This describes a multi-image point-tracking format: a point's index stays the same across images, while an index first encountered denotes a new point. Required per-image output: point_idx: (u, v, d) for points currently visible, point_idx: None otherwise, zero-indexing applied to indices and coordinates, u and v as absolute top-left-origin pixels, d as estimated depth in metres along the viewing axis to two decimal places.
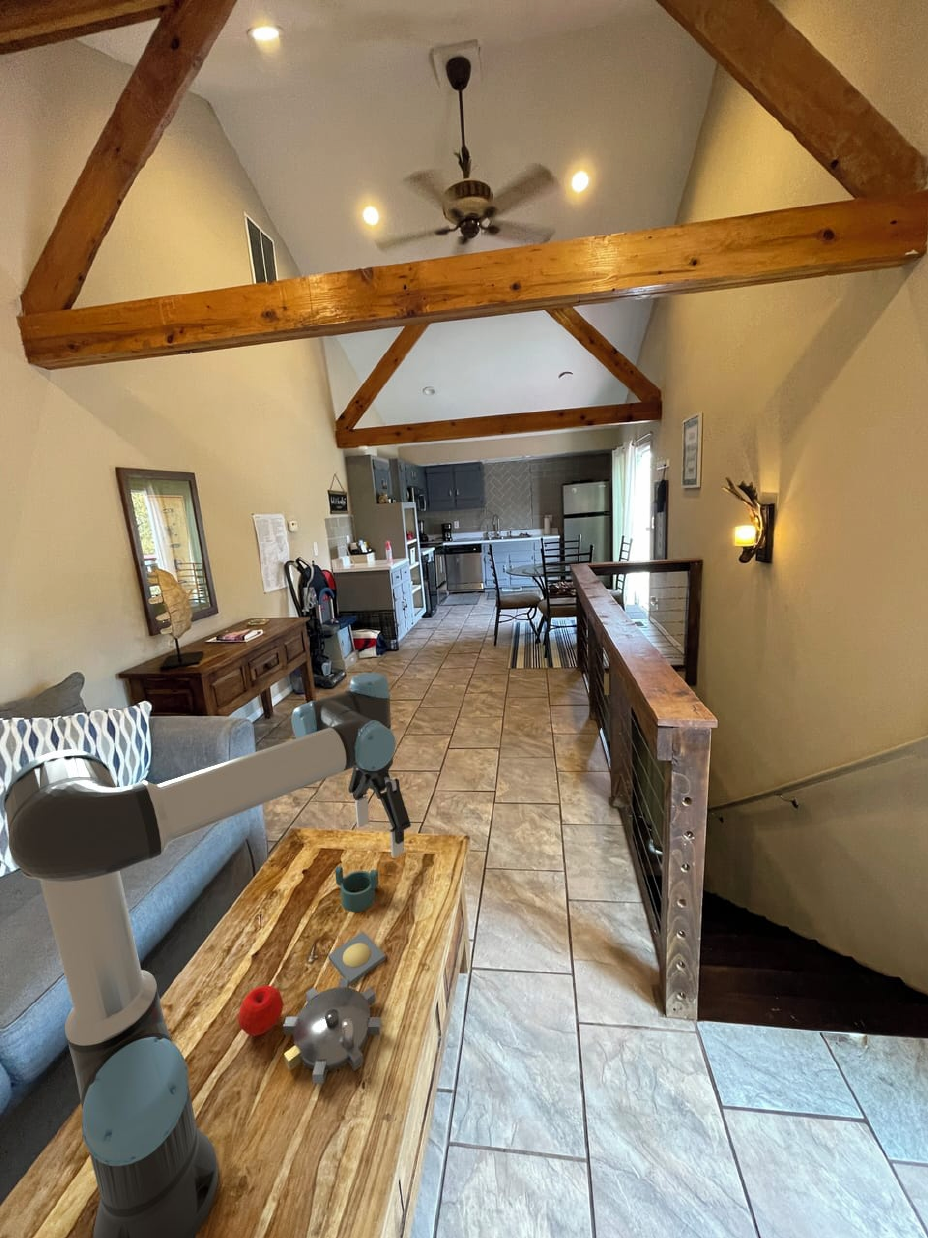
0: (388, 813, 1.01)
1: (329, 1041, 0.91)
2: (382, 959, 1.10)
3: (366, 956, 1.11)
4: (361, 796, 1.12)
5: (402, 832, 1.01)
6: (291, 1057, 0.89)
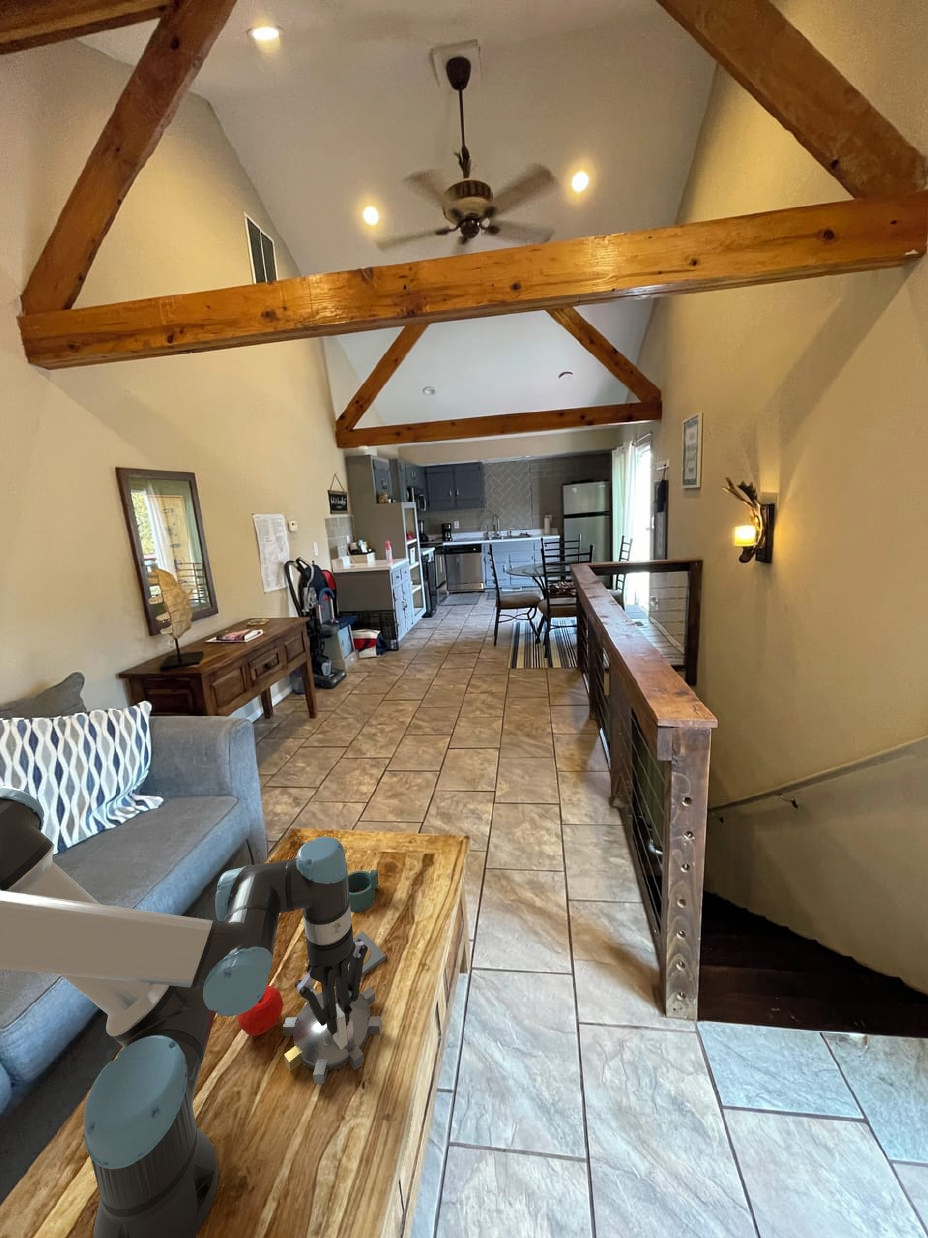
0: None
1: (329, 1041, 0.91)
2: (382, 959, 1.10)
3: (366, 956, 1.11)
4: (340, 1006, 0.88)
5: (329, 1024, 0.87)
6: (292, 1058, 0.89)
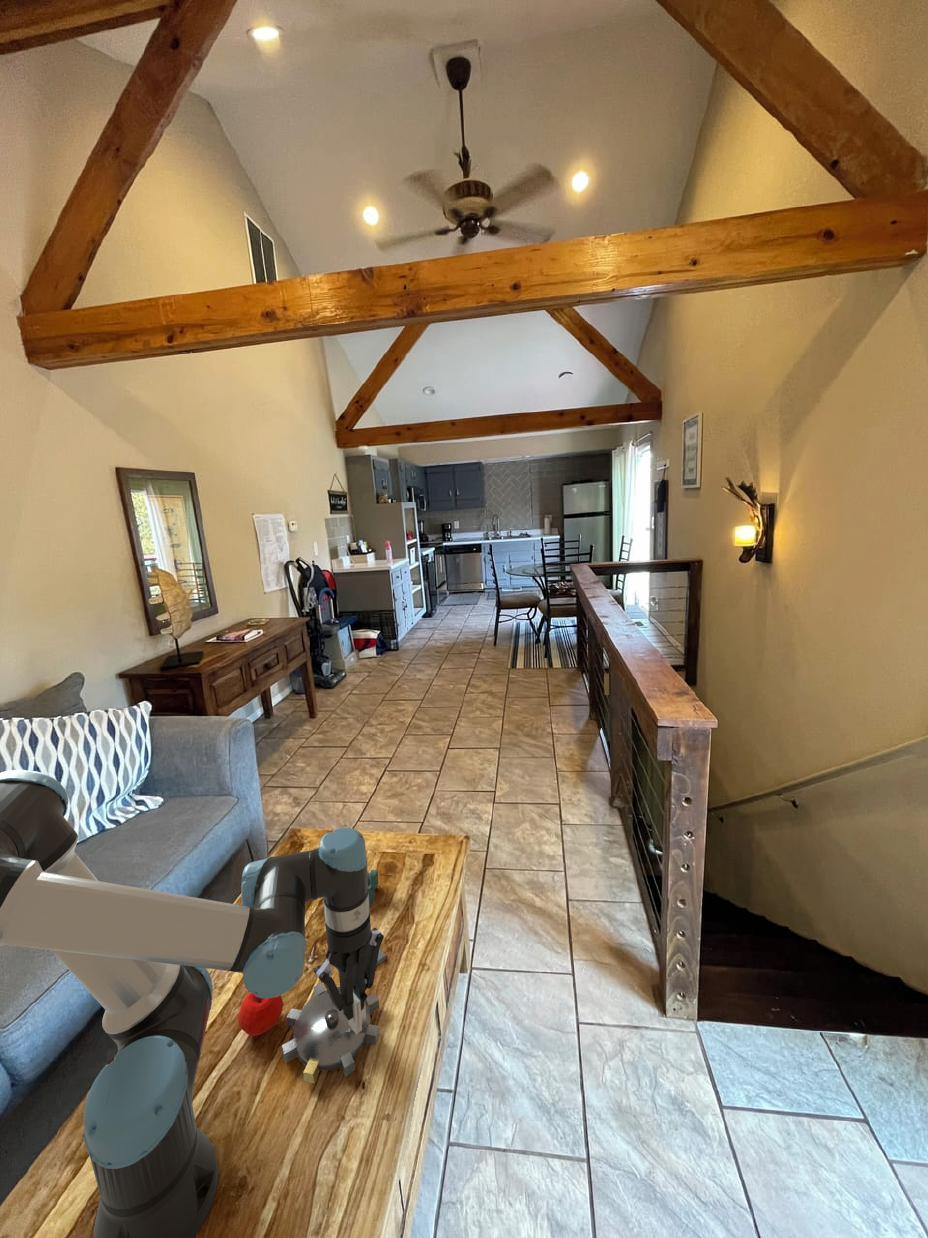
0: None
1: (341, 1036, 0.92)
2: (382, 959, 1.10)
3: None
4: (356, 993, 0.90)
5: (345, 1009, 0.89)
6: (313, 1070, 0.87)
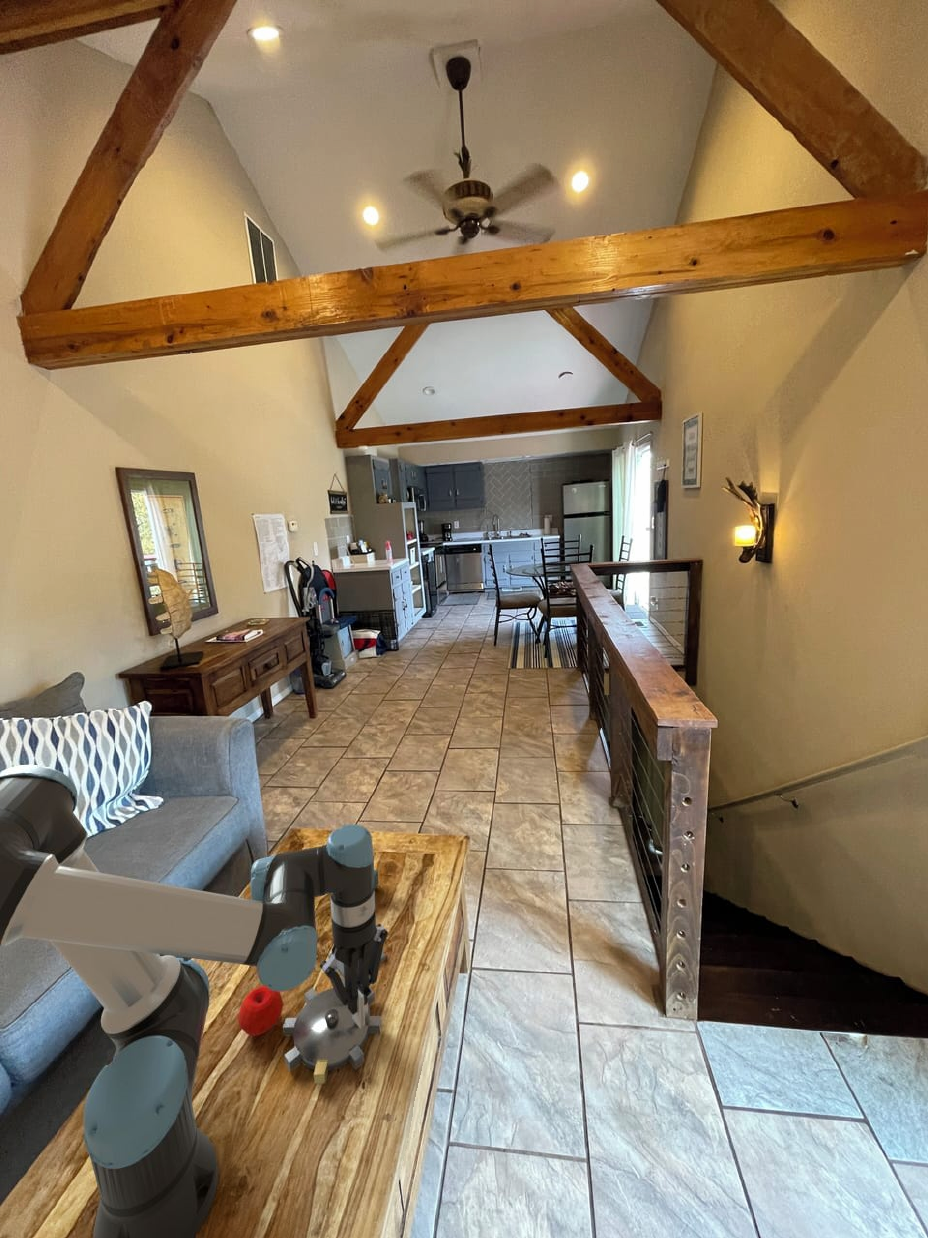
0: None
1: (344, 1033, 0.93)
2: (382, 959, 1.10)
3: None
4: (360, 988, 0.92)
5: (350, 1004, 0.90)
6: (324, 1070, 0.87)
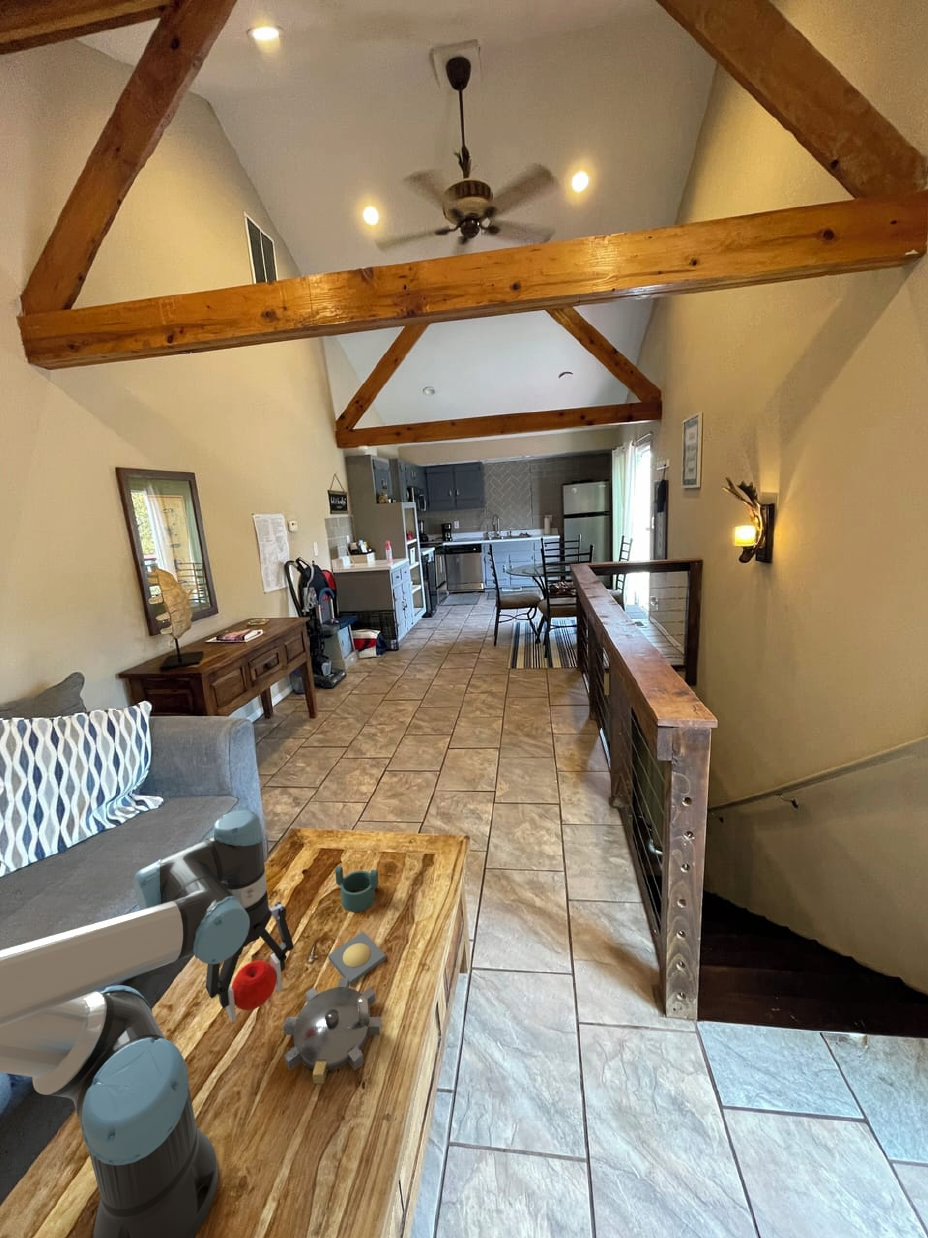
0: None
1: (344, 1033, 0.93)
2: (382, 959, 1.10)
3: (366, 956, 1.11)
4: (276, 956, 0.97)
5: (220, 997, 0.90)
6: (322, 1070, 0.87)
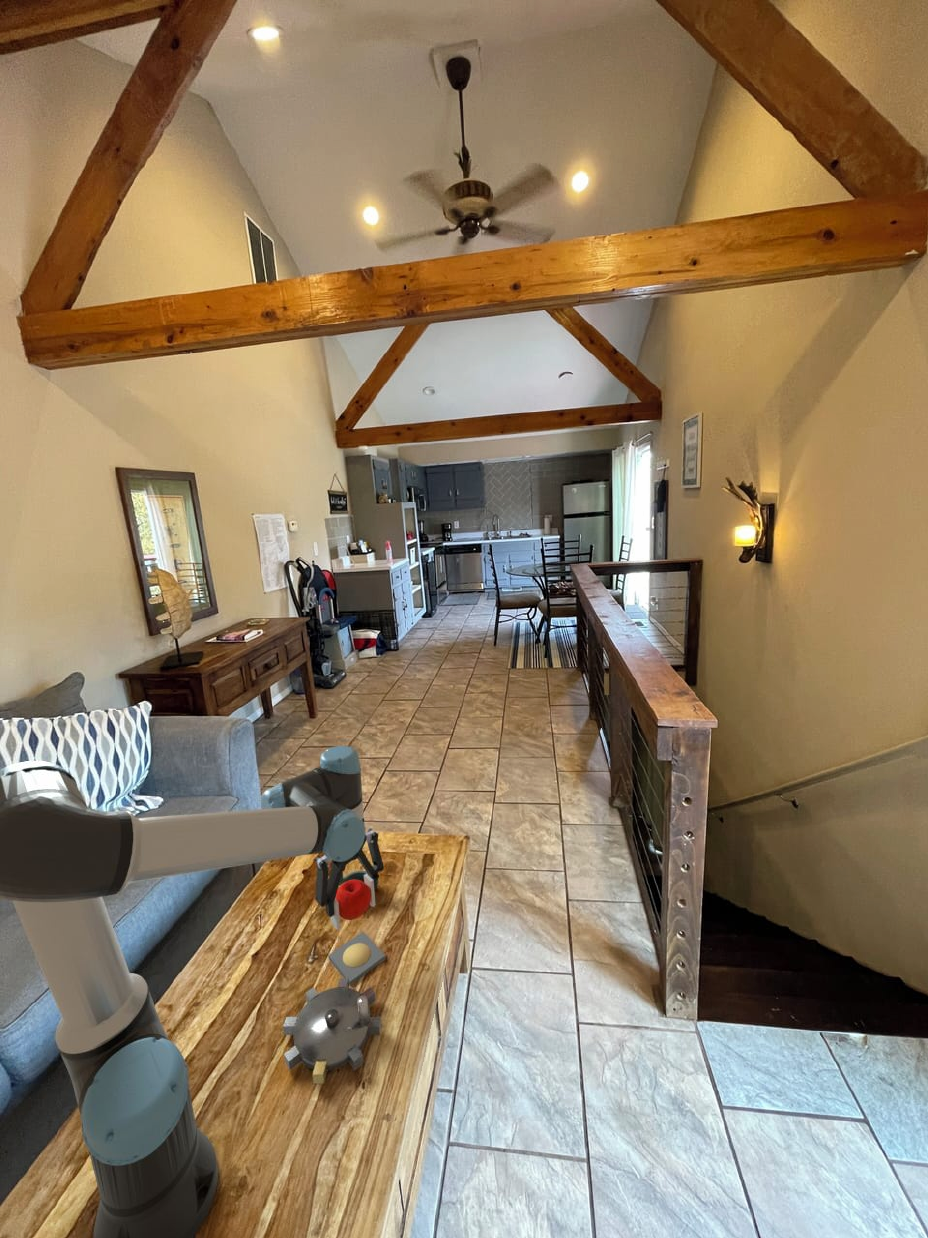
0: None
1: (344, 1033, 0.93)
2: (382, 959, 1.10)
3: (366, 956, 1.11)
4: (370, 875, 1.10)
5: (327, 907, 1.03)
6: (322, 1070, 0.87)
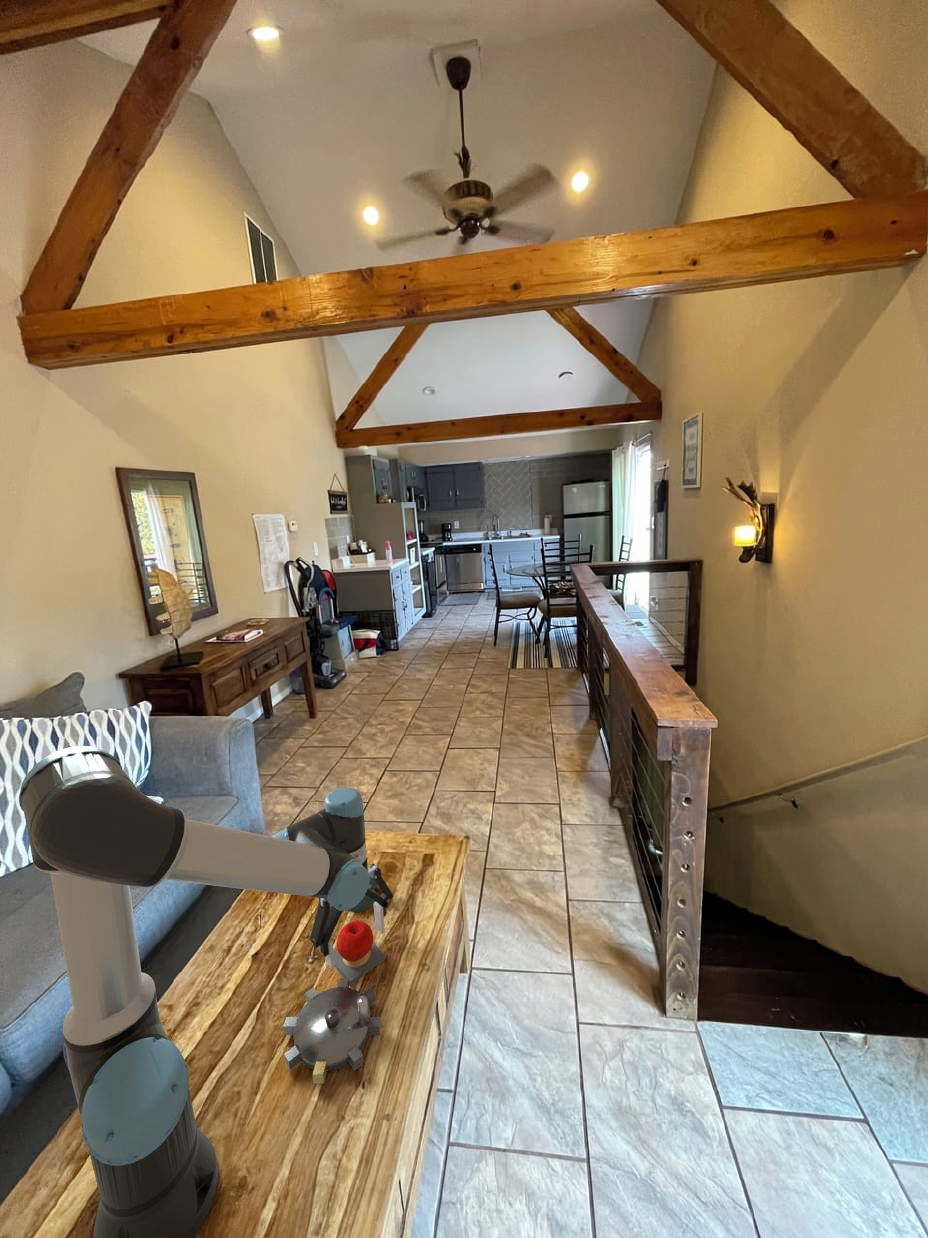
0: None
1: (344, 1033, 0.93)
2: (382, 959, 1.10)
3: (366, 956, 1.11)
4: (380, 904, 1.13)
5: (322, 947, 1.04)
6: (322, 1070, 0.87)
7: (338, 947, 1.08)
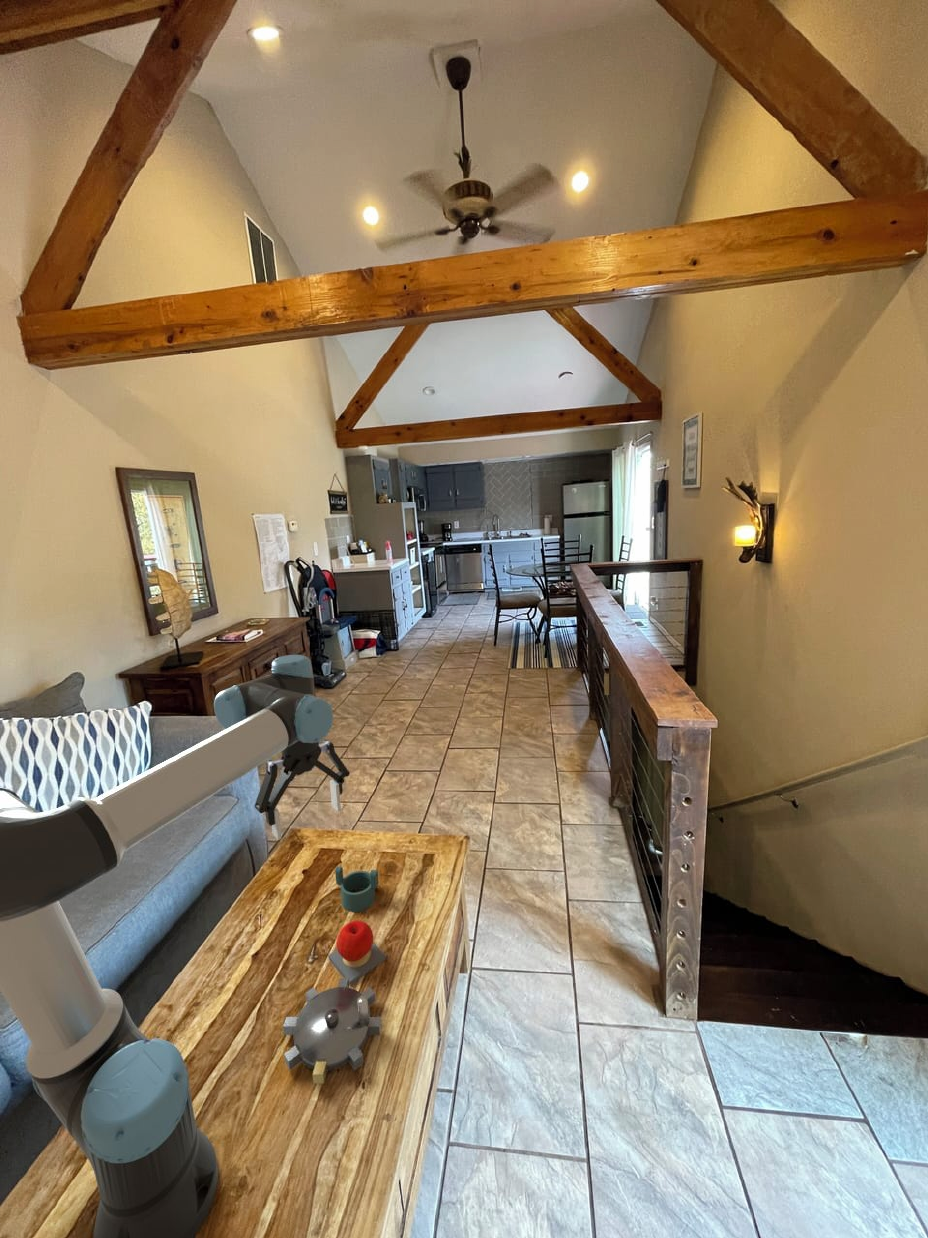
0: None
1: (344, 1033, 0.93)
2: (382, 959, 1.10)
3: (366, 956, 1.11)
4: (335, 780, 1.11)
5: (267, 815, 1.01)
6: (322, 1070, 0.87)
7: (338, 947, 1.08)
